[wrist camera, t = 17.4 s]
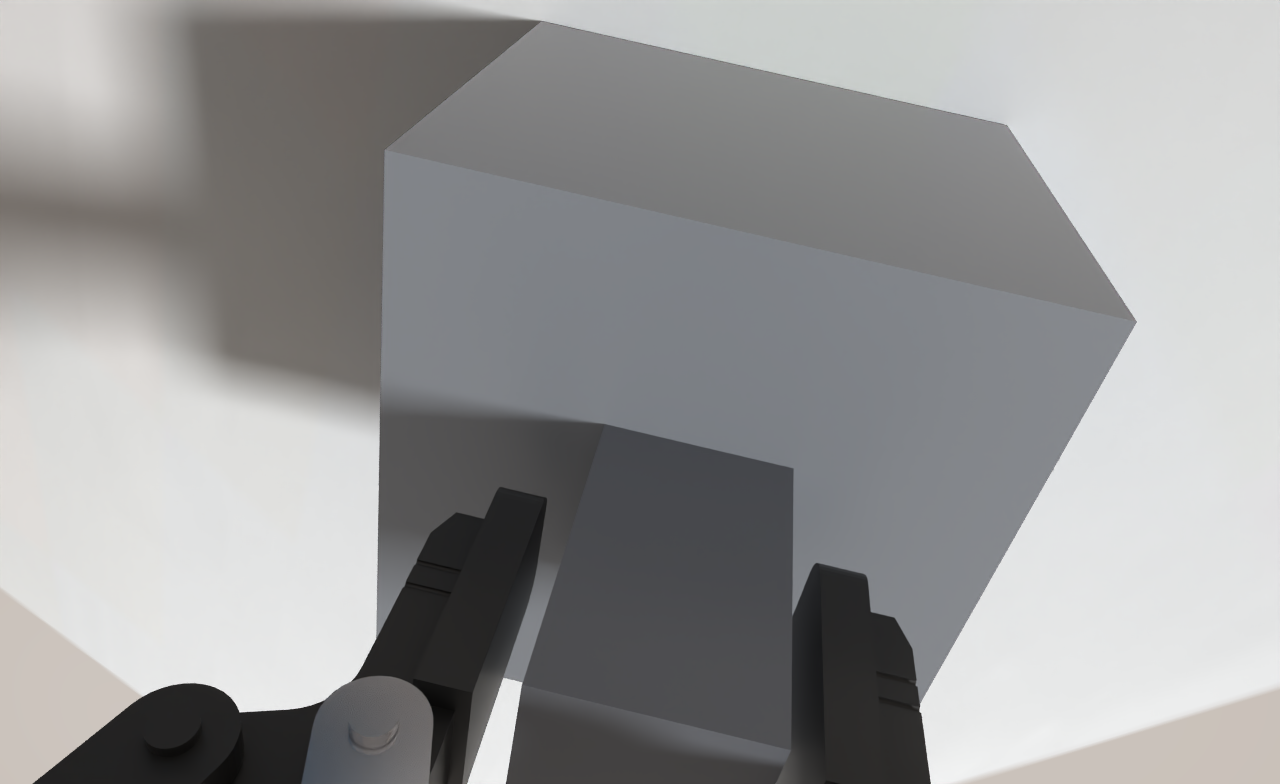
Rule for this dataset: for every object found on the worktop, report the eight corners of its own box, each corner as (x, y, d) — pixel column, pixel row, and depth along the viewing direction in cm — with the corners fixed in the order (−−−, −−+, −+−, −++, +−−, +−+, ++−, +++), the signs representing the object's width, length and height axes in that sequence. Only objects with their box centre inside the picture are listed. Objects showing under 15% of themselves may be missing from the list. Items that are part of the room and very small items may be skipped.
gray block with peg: (541, 21, 19) (164, 330, 8) (1007, 125, 19) (1320, 600, 8) (499, 402, 25) (247, 902, 14) (858, 486, 25) (908, 1069, 13)
